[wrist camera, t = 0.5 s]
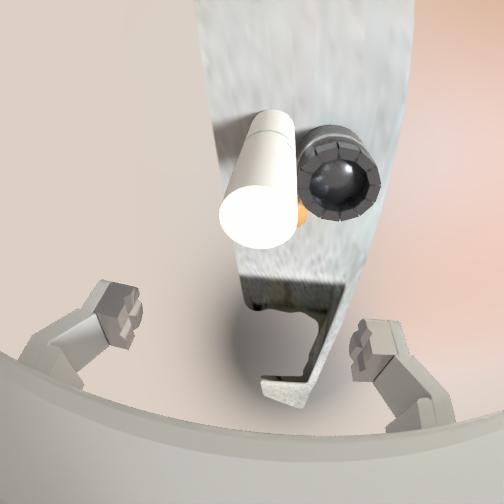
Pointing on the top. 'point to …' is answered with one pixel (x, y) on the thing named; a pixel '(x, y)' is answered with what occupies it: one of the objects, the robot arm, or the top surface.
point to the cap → (301, 212)
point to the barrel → (336, 174)
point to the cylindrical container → (263, 185)
